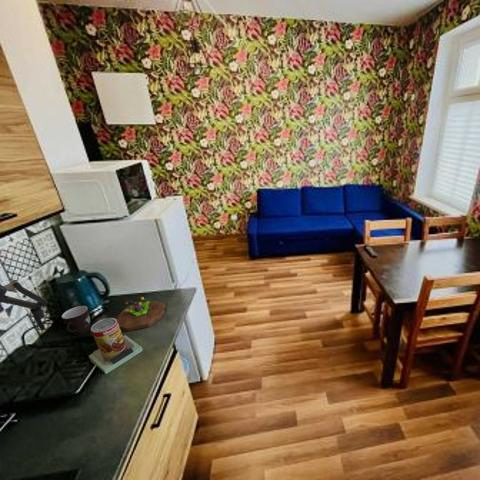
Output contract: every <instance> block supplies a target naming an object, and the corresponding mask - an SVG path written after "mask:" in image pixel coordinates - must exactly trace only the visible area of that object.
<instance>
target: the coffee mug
mask: <svg viewBox="0 0 480 480" xmlns="http://www.w3.org/2000/svg"><path fill="white" fill-rule="evenodd" d="M61 318H62V320H63V321H64V323H65V324H66V331H67V332H69V333H72V334H73V335H74V336H81V335H85V334H86V333H88V332H91V327H92V326H93V324H92V322H91V321H92V320H91V317H90V312H89V308H88V306H86V305H79V306H75V307H72V308H70V309H68V310H65V312H63V314H62V315H61Z"/></svg>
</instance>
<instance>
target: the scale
mask: <svg viewBox="0 0 480 480" xmlns="http://www.w3.org/2000/svg"><path fill="white" fill-rule="evenodd" d="M123 337H124V338H125V339H127V340H128V341H130V342H131V343H132V344H134V345H135V347H134V348H129V349H127V350H126V351H124V352H122V353H121V354H119V355H117V356H116V357H114V358H112V359H111V362H109V363H108V364H106V365H105V364H104V363H102V362H101V361H100V360H99V359H98V358H97V357H96V356H95V355H94V354H93V353H91V354H89V355H88V358H89V360H90V362H91V363H92V364H93V365H94V366H96V367H98V369H100V370H101V371H102V372H103V373H104V374H105V375H107V374H108V373H111V371H113V370H115V369H116V368H118V367H119V366H121V365H123V364H124V363H126V362H127V361H129V360H130V359H133V358H134V357H135V356H137V355H138V354H140V353H141V352H143V351H144V350H143V347H142V346H141V345H139V344H138V342H135V341H134V340H132V339H131V338H130V337H129V336H127V335H123Z"/></svg>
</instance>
